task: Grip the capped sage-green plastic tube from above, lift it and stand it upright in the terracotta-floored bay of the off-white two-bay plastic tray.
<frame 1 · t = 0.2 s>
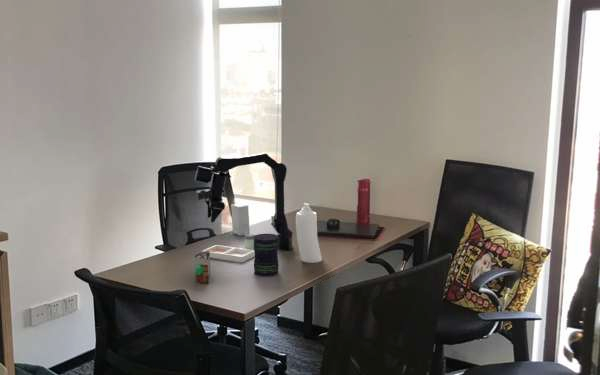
hand: (210, 219, 270), 15 cm above the table, tool pointing down, fingers open, 9 cm apart
storage jar: (266, 273, 246), on the table
food container: (201, 280, 237), on the table
white plastic bottle: (308, 260, 263), on the table
sorting tray: (228, 256, 268), on the table
sample tube: (250, 250, 277), on the table
skincare box: (240, 234, 307), on the table
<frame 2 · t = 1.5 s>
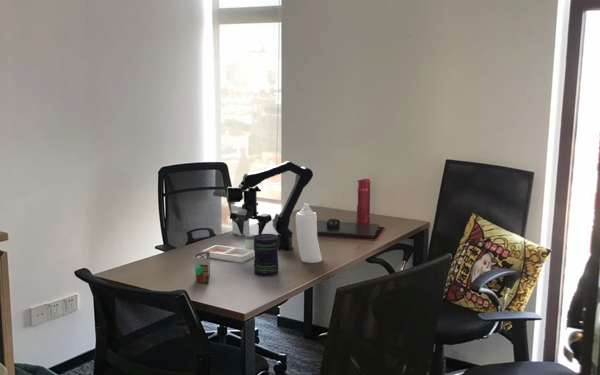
hand: (250, 235, 276), 7 cm above the table, tool pointing down, fingers open, 9 cm apart
nothing on the table moved.
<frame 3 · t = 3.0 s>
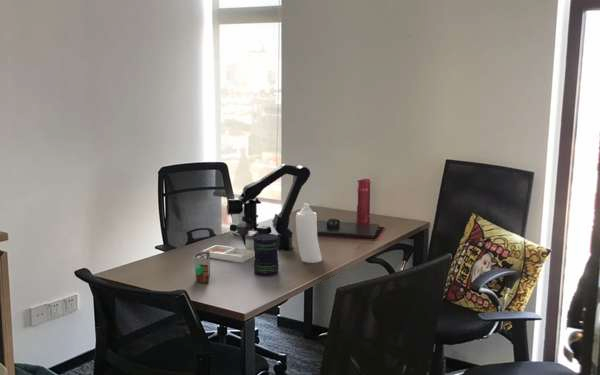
hand: (250, 247, 277), 2 cm above the table, tool pointing down, fingers closed on sample tube, 5 cm apart
sample tube: (250, 250, 277), on the table, touching gripper
everything else where it was.
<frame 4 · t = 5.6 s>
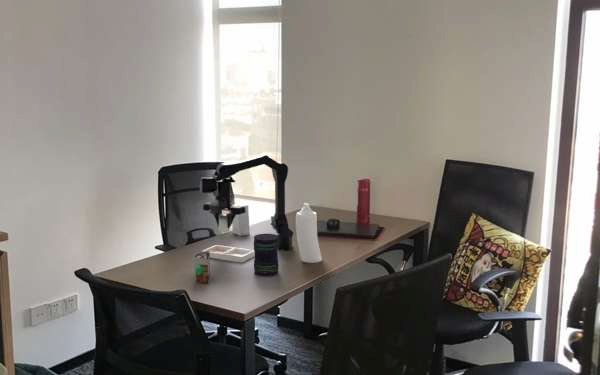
hand: (224, 227, 270), 12 cm above the table, tool pointing down, fingers closed on sample tube, 5 cm apart
sample tube: (224, 230, 270), point 11 cm above the table, touching gripper
everything else where it was.
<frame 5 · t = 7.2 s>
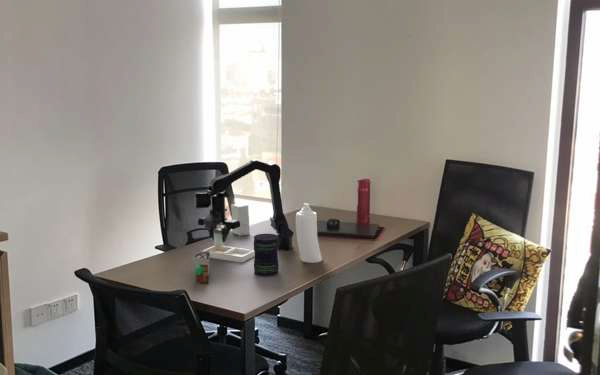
hand: (219, 241, 270), 6 cm above the table, tool pointing down, fingers closed on sample tube, 5 cm apart
sample tube: (219, 245, 270), point 4 cm above the table, touching gripper
everything else where it was.
when the fingers open (4 cm above the table, at t = 8.5 s): sample tube drops 1 cm, resting on sorting tray.
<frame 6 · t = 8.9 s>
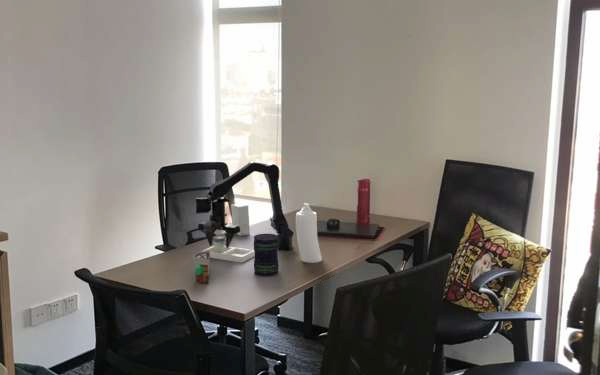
hand: (219, 246, 270), 4 cm above the table, tool pointing down, fingers open, 8 cm apart
sample tube: (219, 253, 271), point 1 cm above the table, touching sorting tray
everything else where it was.
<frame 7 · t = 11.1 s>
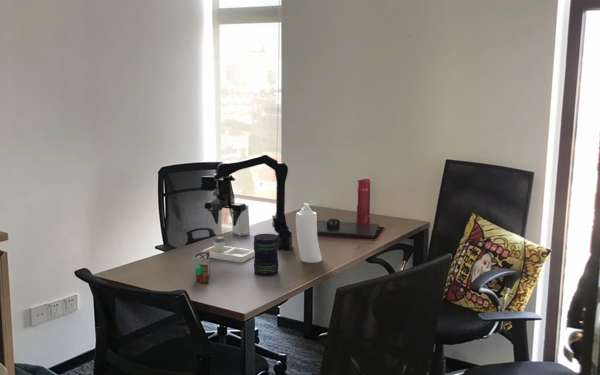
hand: (225, 224, 276), 12 cm above the table, tool pointing down, fingers open, 9 cm apart
nothing on the table moved.
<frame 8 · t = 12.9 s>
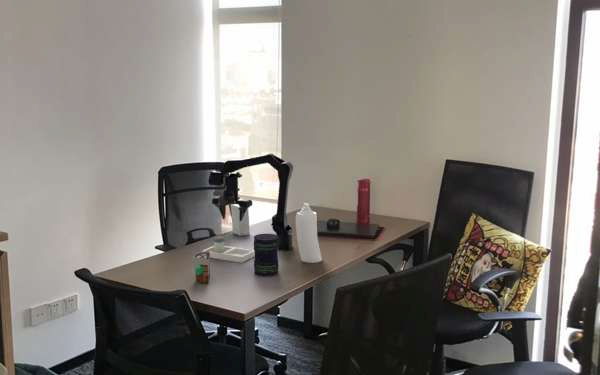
hand: (232, 220, 284), 12 cm above the table, tool pointing down, fingers open, 9 cm apart
nothing on the table moved.
at the end: sample tube 0.0 cm from the target spot on the sorting tray, point 0.6 cm above the sorting tray's base; sample tube tilted 0°; the gripper is holding nothing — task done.
